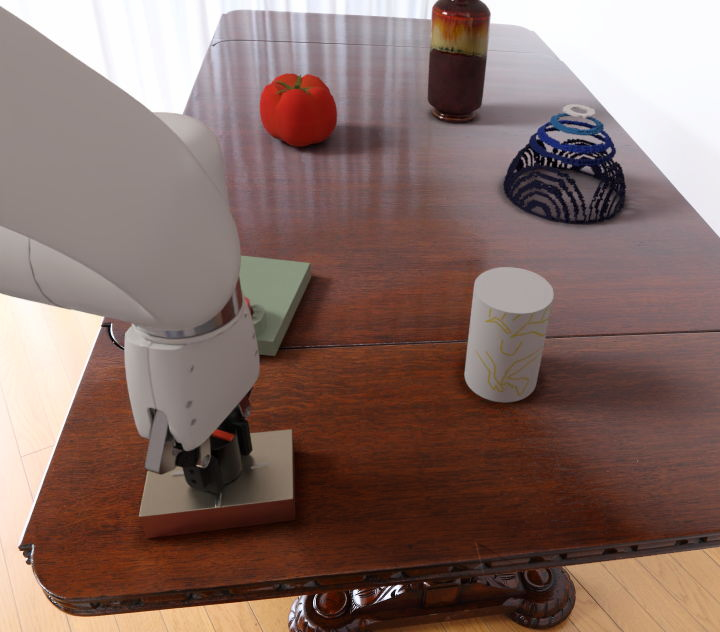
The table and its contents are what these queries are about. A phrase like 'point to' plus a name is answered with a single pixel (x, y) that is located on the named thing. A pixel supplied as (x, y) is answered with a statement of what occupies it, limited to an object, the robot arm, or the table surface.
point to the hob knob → (226, 451)
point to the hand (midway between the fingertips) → (220, 466)
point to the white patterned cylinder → (507, 333)
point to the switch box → (272, 296)
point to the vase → (458, 58)
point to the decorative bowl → (577, 165)
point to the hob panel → (225, 493)
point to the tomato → (298, 109)
